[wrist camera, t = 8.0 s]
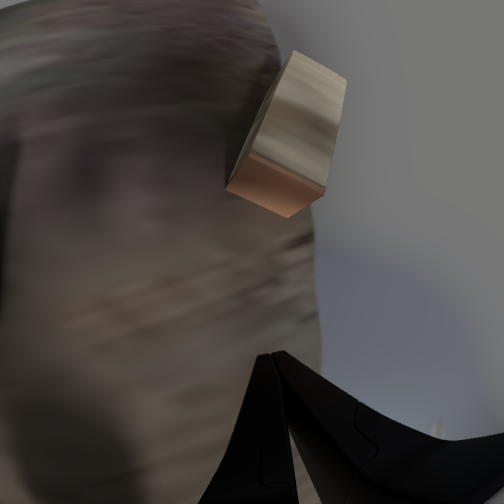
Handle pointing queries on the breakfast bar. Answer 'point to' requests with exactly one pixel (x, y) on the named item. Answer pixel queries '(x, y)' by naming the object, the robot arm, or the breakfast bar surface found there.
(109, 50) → the breakfast bar surface
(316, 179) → the beech block
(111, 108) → the breakfast bar surface
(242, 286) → the breakfast bar surface
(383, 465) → the robot arm
